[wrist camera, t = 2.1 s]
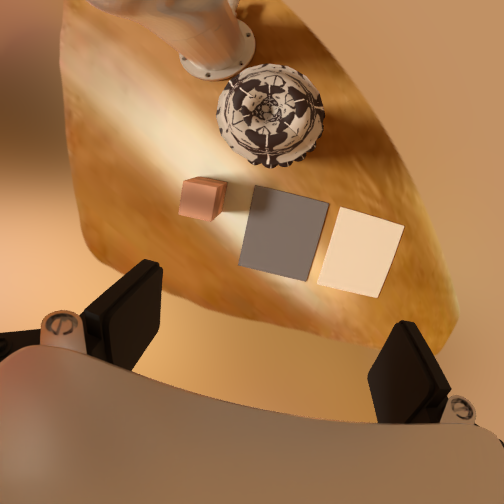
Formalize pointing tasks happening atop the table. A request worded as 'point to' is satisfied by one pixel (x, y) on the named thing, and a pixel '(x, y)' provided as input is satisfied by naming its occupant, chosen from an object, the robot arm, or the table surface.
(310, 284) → the table surface
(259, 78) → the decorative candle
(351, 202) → the table surface
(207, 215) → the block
